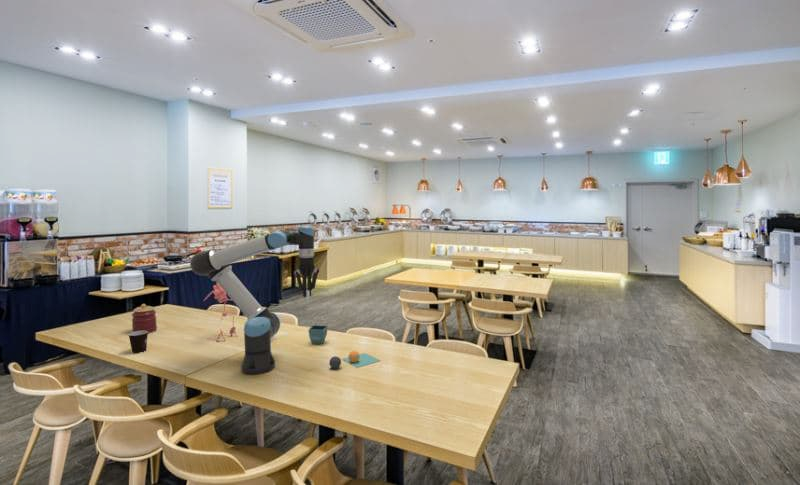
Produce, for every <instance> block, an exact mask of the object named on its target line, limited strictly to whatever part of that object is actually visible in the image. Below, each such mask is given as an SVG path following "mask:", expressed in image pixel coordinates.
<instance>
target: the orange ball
mask: <svg viewBox="0 0 800 485" xmlns="http://www.w3.org/2000/svg"><path fill="white" fill-rule="evenodd" d="M359 354H360V353H359V352H358V351H357V350H352V351H350V352H349V353H348V356H347V358H349V360H350V361H351V362H353V363H354V362H357V361H358V360H359V358H360V356H359Z"/></svg>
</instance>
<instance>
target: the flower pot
mask: <svg viewBox="0 0 800 485" xmlns="http://www.w3.org/2000/svg"><path fill="white" fill-rule="evenodd" d="M327 334H328V325H318V324H317V325H316V324H315V325H312V326H311V327H309V328H308V336H309V340H310V342H311V343H312V344H314V345H322V344H323V343H324V342H325V339H326V338H327Z"/></svg>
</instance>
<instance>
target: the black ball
mask: <svg viewBox="0 0 800 485" xmlns="http://www.w3.org/2000/svg"><path fill="white" fill-rule="evenodd" d="M341 364H342V359H341V358H340V357H339V356H335V355H334V356H332V357H331V358H330V360H329V366H330V367H331V368H332V369H339V367H340V366H341Z"/></svg>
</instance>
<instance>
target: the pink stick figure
mask: <svg viewBox="0 0 800 485" xmlns="http://www.w3.org/2000/svg"><path fill="white" fill-rule="evenodd" d="M212 287H213V290H212V291H211V292H210V293H208V294H207V296H206V297H205V298H204V299H203V302H205V300H207V299H208V298H209V297H210V296H211V295H212V294H213V295H214V299H215V300H217V301H218V303H219V304H221V303H224V304H223V312H222V314H221V315H222V316H221V318H220V321H222V320H223V317H227V316H230V317H232V324H234V321H235V320H234V319H235V316H234V315H231V314H228V312H226V311H225V308H226V303H227V301H233V300H232V299H231V298H230V299H229V298H228V296H229V295H228V294H227V293H226V292H225V291H224V290H223V288H222V287H221V286H220V285H219V284H218V283H217V282H216V284H215V285H214V284H213V286H212ZM219 332H220V333H219V334H217V335H215V337H216V336H217V338H216V341H215V342H217V341H218V340H219V338H220V337H221V336H222V339H223V341H224V342H226V339H225V337H224V334H223V332H224V331H223V330H221V331H219ZM233 334H235V337H236V338H237V337H238V335H237V332H236V326H231V328H230V329H229V335H231V336H232V335H233ZM211 338H212V336H210V337H209V338H207V340H208V339H211Z"/></svg>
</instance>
